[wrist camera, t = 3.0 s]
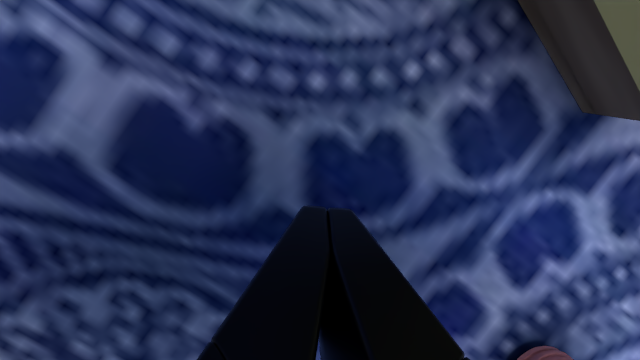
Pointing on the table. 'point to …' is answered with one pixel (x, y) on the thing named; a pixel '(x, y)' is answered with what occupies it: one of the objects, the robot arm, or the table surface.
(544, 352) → the light bulb
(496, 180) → the table surface
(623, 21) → the lid
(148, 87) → the table surface
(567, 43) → the walnut box
